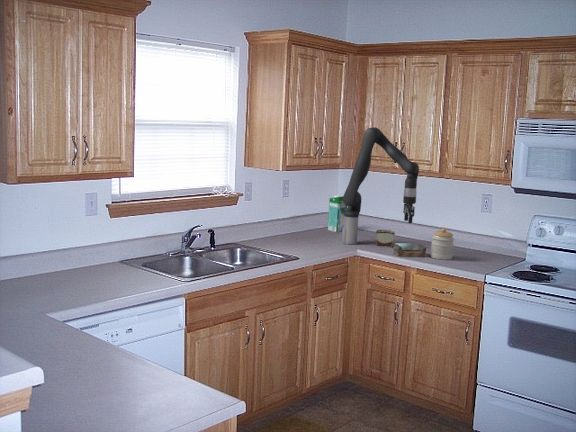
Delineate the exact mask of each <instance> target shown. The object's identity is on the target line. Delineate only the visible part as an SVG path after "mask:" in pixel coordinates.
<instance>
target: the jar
mask: <svg viewBox="0 0 576 432" xmlns="http://www.w3.org/2000/svg"><path fill="white" fill-rule="evenodd" d="M453 236H454V234H453V233H451V232H450V231H448V230H447V229H446V228H444V227H443V228H442V229H441V230H437V231H435V232H434V233H433V236H431V239H432V241H431V242H430V243H431V247H430V248H431V249H430V257H431V258H433V259H436V260H441V261H442V260H443V261H445V260H446V261H447V260H448V261H449V260H452V259H453V256H454V241H455V238H454V237H453Z"/></svg>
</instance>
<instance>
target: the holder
mask: <svg viewBox="0 0 576 432" xmlns="http://www.w3.org/2000/svg"><path fill="white" fill-rule="evenodd" d="M392 254H394V255H395V256H397V257H398V258H399V257H405V258H407V257H409V258H410V257H411V258H426V257H427V247H426V246H424V245H422V244H417V249H414V248H413V249H402V247H401V246H399V245H398V244H396V243H394V244H393V253H392Z"/></svg>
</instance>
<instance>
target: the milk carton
mask: <svg viewBox="0 0 576 432" xmlns="http://www.w3.org/2000/svg"><path fill="white" fill-rule="evenodd" d="M343 196H344V195H343ZM343 196H341V195H334V197H329V199H328V200H329V205H328V218H327V219H328V220H327V231H330V232H334V233H342V228H343V225H344V212H345V211H346V210H347V208H348V206H346V205H345V204H344V202H343Z"/></svg>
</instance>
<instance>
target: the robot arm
mask: <svg viewBox="0 0 576 432" xmlns="http://www.w3.org/2000/svg"><path fill="white" fill-rule="evenodd" d="M361 140H362V141H361V146H360V149H359V152H358V155H357V157H356V160H355V163H354V167H353V169H352V173H351V176H350V179H349V182H348V185H347V187H346V189H345V191H344V194H343V202H344V204H345V205H346V206H347V210H346V211H345V212H344V225H343V228H342V232H341V244H343V245H344V244H345V245H357V244H358V230H359V215H360V213H361V207H362V195H361V193H360V192H359V188H360V186H361V184H362V183H363V182H364V181H365V179H366V177H367V175H368V174H369V171H370V167H371V164H372V163H371V162H372V153H373V152H372V151H373V149H374V146H375V144H377V145H378V146H379V147H381V148H382V149H383V150H384V152H385V153H386V154H387V155H388V156H389V157H390V159H392V161H394V162H395V163H396V164H397V165H398V166H399V167H400V168H401V169H402V170H403V171H404V172H405V173H406V178H405V181H404V189H403V200H402V202H403V211H402V212H403V215H404V217H403V218H404V219H403V220H404V222H407V223H408V224H412V223H413V218H414V217H415V210H416V209H415V206H414V205H415V204H416V203H417V186H418V185H417V182H418V178H419V173H420V167H419V164H418V163H417V162H414V161H411V160H410V159H409V158H408V157H407V155H406V154H405V153H404V152H403V151H402V150H401V149H399V148H398V147H397V146H396V145H394V143H392V142H391V141H390V139H388V137H387V136H386V135H385V134H384V133H383V131H381V130H380V128H378V127H368V128H367V129H365V130H364V132H363V135H362V139H361Z"/></svg>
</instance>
